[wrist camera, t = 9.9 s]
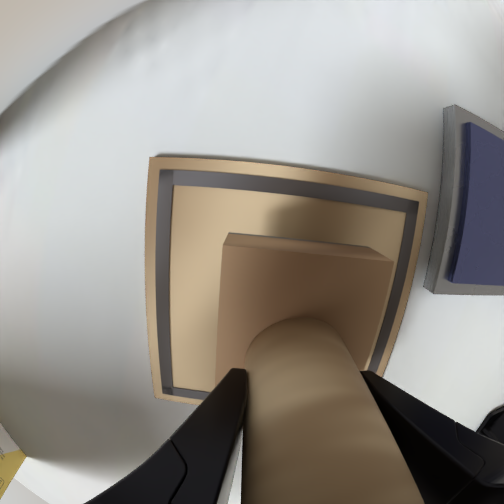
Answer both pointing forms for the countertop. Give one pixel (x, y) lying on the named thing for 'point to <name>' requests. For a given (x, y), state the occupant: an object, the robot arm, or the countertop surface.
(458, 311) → the countertop surface
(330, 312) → the stamp
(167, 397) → the marked card
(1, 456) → the pasta box
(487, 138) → the ink pad
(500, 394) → the countertop surface
